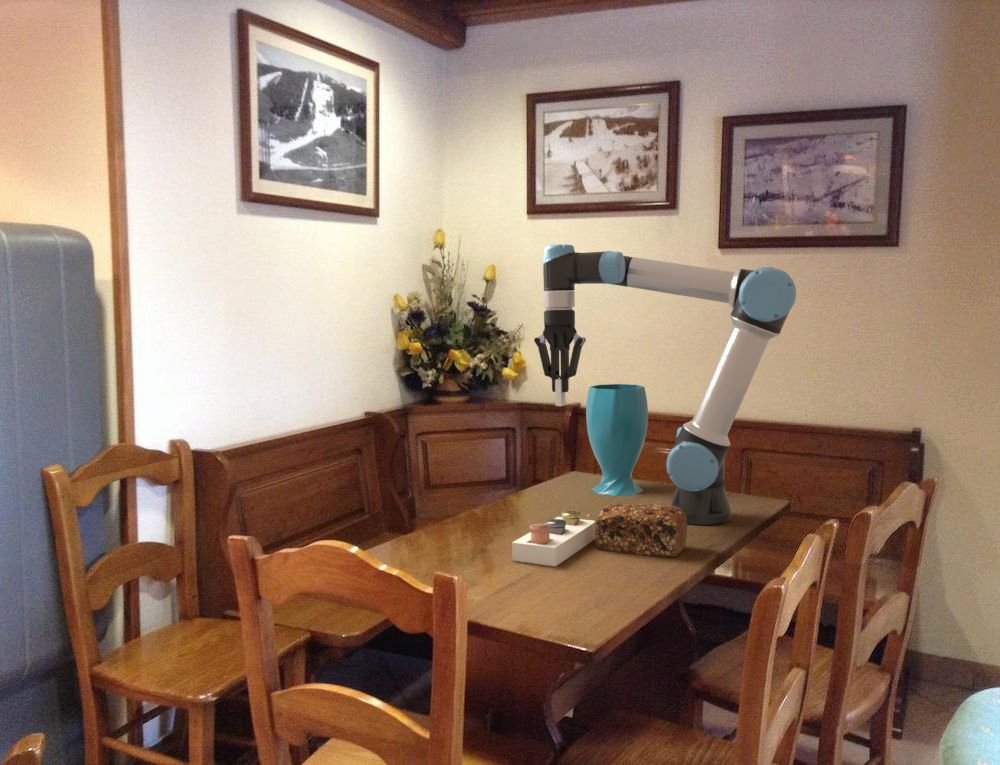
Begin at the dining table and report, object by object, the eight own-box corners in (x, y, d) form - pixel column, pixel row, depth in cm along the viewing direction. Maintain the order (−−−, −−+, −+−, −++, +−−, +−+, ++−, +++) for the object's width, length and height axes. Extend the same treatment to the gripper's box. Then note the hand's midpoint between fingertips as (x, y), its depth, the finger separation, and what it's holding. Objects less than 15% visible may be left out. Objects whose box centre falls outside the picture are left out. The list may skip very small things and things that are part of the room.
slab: (597, 537, 206) (596, 520, 205) (555, 566, 184) (555, 547, 184) (557, 533, 210) (557, 516, 210) (512, 560, 189) (512, 542, 189)
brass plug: (583, 536, 206) (583, 511, 205) (576, 540, 202) (576, 516, 201) (566, 534, 208) (566, 509, 207) (558, 538, 204) (558, 514, 203)
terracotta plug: (554, 551, 191) (553, 524, 190) (545, 556, 187) (545, 529, 186) (535, 548, 193) (535, 522, 192) (526, 554, 189) (526, 527, 188)
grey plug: (569, 545, 198) (569, 520, 198) (561, 550, 194) (561, 524, 194) (551, 543, 200) (551, 518, 200) (543, 548, 196) (543, 522, 196)
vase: (632, 499, 243) (631, 391, 241) (576, 492, 253) (575, 388, 250) (657, 487, 258) (656, 385, 255) (603, 481, 267) (603, 382, 264)
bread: (688, 547, 197) (688, 503, 196) (675, 560, 188) (675, 514, 187) (609, 538, 206) (608, 496, 205) (592, 550, 196) (592, 506, 195)
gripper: (590, 308, 215) (590, 404, 217) (541, 309, 221) (542, 402, 223) (578, 309, 209) (579, 408, 211) (528, 309, 215) (529, 406, 217)
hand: (560, 405), depth 217 cm, fingers closed
